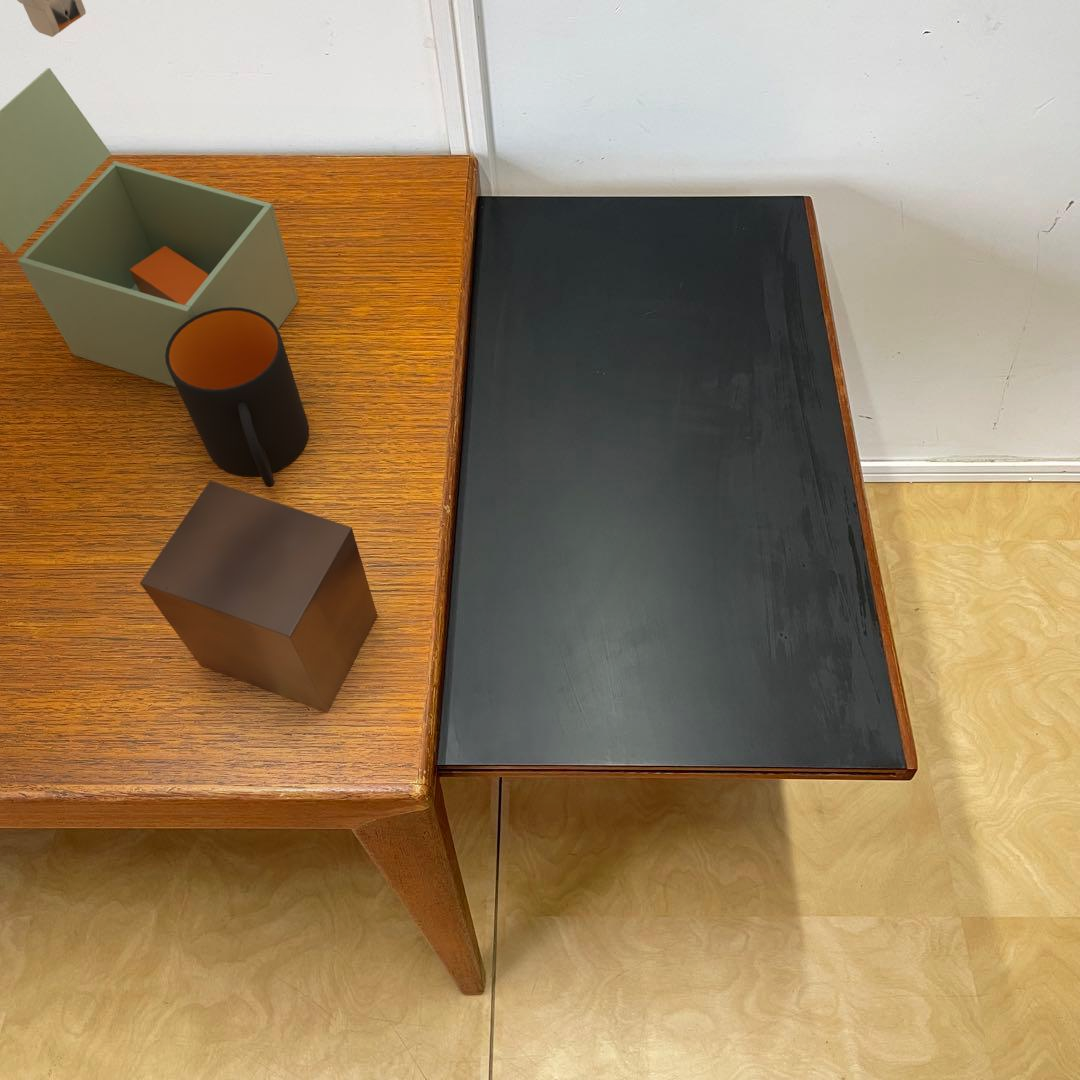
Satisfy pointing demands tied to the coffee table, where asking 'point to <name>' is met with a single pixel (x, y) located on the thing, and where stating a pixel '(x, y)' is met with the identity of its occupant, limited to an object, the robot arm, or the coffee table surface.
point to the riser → (265, 594)
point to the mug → (239, 391)
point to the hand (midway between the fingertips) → (61, 23)
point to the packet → (168, 276)
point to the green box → (133, 235)
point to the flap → (42, 156)
